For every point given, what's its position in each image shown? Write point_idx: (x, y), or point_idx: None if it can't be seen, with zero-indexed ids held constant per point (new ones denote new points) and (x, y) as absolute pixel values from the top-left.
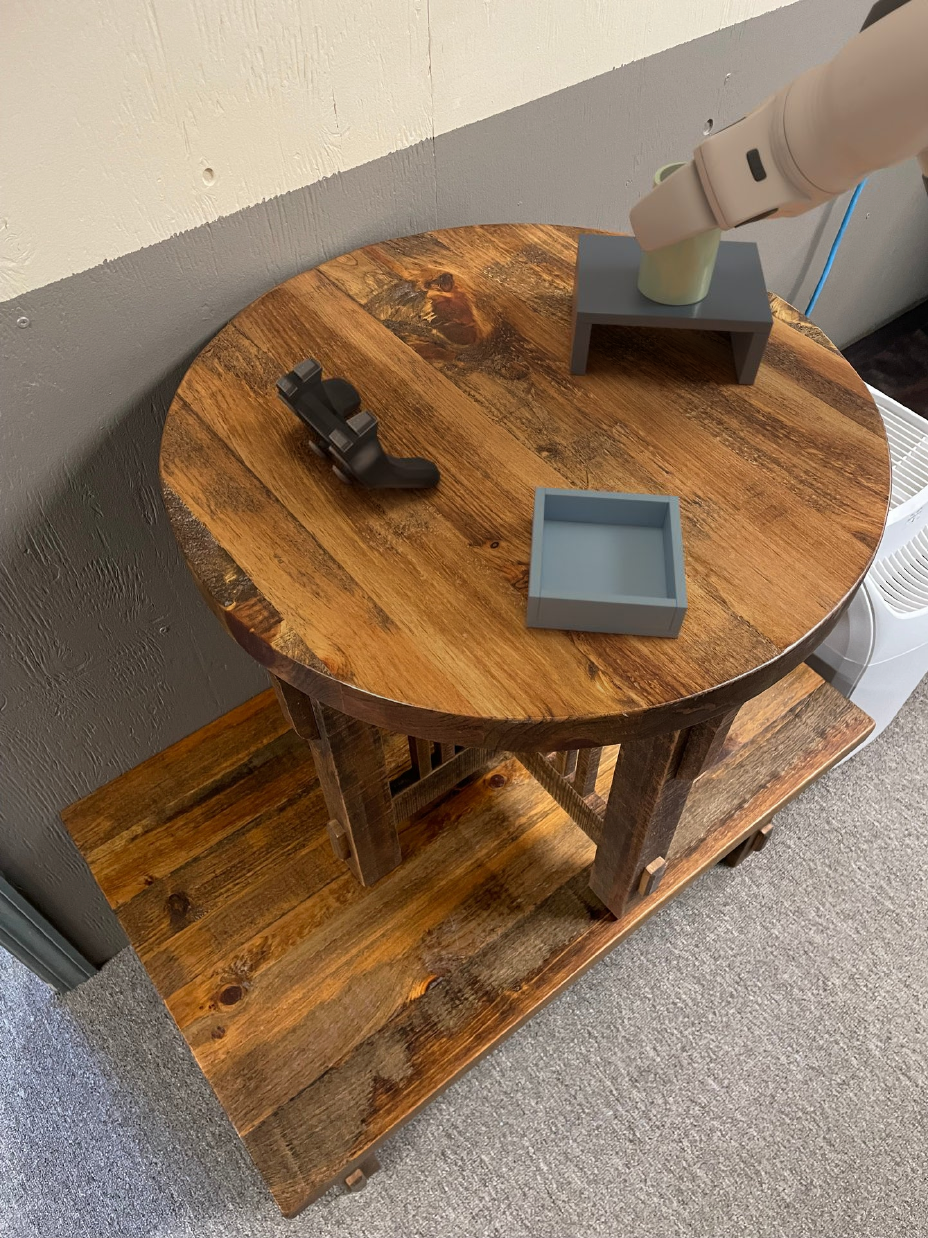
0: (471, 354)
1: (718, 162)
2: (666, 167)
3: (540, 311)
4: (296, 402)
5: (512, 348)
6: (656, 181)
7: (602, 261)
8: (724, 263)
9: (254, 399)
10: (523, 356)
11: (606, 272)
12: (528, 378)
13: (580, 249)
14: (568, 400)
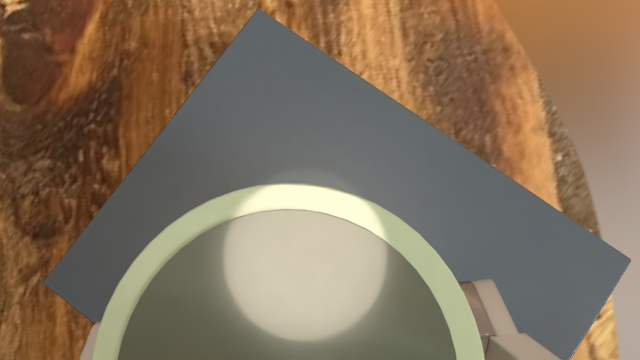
0: (9, 133)
1: None
2: (253, 206)
3: (193, 84)
4: None
5: (81, 154)
6: (115, 298)
7: (228, 136)
8: None
9: None
10: (83, 184)
11: (206, 180)
12: (50, 244)
13: (216, 66)
14: (70, 337)
